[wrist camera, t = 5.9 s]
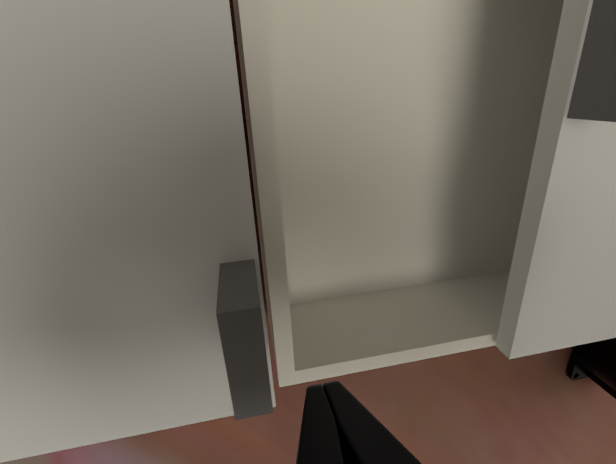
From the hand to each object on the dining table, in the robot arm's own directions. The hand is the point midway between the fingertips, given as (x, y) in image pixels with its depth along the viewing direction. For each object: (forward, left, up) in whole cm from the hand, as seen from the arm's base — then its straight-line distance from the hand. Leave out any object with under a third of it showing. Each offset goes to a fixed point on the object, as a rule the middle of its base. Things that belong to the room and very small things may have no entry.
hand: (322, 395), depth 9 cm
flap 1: (+4, +7, -6) cm, 10 cm away
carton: (+4, -10, -12) cm, 16 cm away
